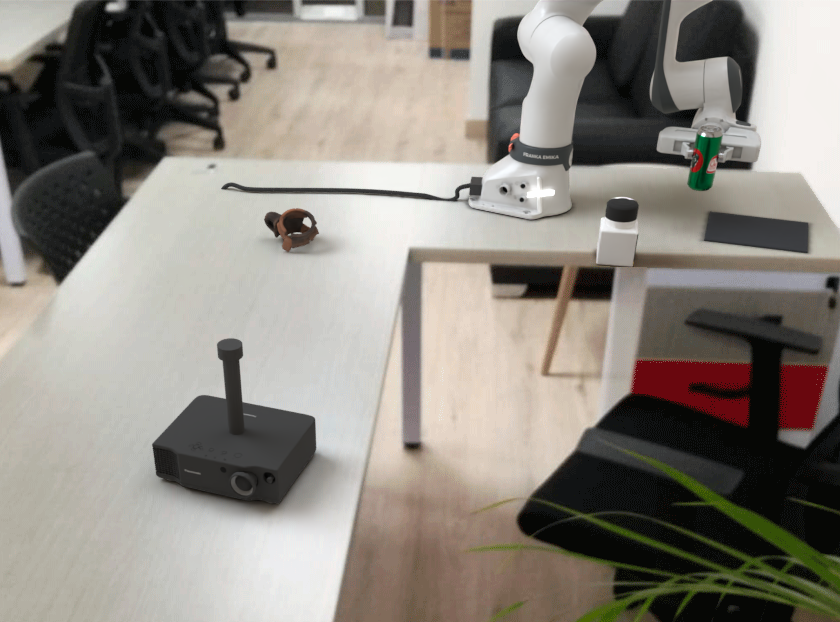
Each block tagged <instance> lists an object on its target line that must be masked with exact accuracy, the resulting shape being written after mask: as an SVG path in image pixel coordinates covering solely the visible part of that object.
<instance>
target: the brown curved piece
mask: <svg viewBox="0 0 840 622" xmlns="http://www.w3.org/2000/svg"><path fill="white" fill-rule="evenodd" d="M307 218H308V219H309V220H310V224H311V226H308V225H307V224H305V223H304V219H307ZM263 221H264V224H265V226H266V227H267V228H268V229H269V230H270V231H271V232H272V233H273V235H274V238H278V237H281V239H283V241H282V245H281V248H282V250H284V251H286V252H287V253H289V252H290V251H291V250H292V249H296V248H297V249H298V248H300V247H303V246H306V245H309V244H310V243H311V242H312V241H313V240H314V239H315V238H316V236H317V235H320V231H319V229H318V226H316V225H317V224H318V221H316V219H315V216H314V215H313V214H312V213H311V212H309V211H308V210H305V209H303V208H299V207H298V208H293V207H292V208H290V209H287V210H285V211H283V212H282V214H280V213H279V212H276V211H269V212H267V213H265V215H264V218H263ZM289 235H290V236H289ZM310 241H311V242H310Z"/></svg>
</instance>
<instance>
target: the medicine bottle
mask: <svg viewBox="0 0 840 622" xmlns="http://www.w3.org/2000/svg"><path fill="white" fill-rule="evenodd" d="M639 207H640V203H639V202H638V200H635V199H633V198H631V197H627V196H616V197H612V198H610V199H609V200H608V201H607V202H606V206H605V215H604V217H603V216H602V217H601V218H600V222H599V230H598V237H597V243H596V256H595V257H596V260H595V262H596V265H598V266H599V265H600V266H615V267H628V268H633V267H634V264H635V259H636V251H637V246H638V240H639V220H638V214H639Z"/></svg>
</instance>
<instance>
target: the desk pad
mask: <svg viewBox="0 0 840 622" xmlns="http://www.w3.org/2000/svg"><path fill="white" fill-rule="evenodd" d="M703 241H705V242H713V243H722V244H730V245H737V246H745V247H755V248H763V249H769V250H770V249H771V250H777V251H778V250H779V251H786V252H795V253H804V254H808V251H809V250H808V249H809V222H805V221H796V220H789V219H779V218H771V217H763V216H752V215H745V214H738V213H737V214H735V213H727V212H718V211H709V216H708V220H707V225H706V229H705V234H704V238H703Z"/></svg>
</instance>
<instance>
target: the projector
mask: <svg viewBox="0 0 840 622" xmlns="http://www.w3.org/2000/svg"><path fill="white" fill-rule="evenodd" d="M243 348H244V347H243V341H242V340H241V339H238V338H234V337H233V338H232V337H231V338H223V339H220V340H219V341H218V342H217V343H216V351H217V359H219V360H220V361H222V369H223V371H222V372H223V381H224V382H223V383H224V393H225V394H224V395H225V397H219V396H214V395H209V394H208V395H207V394H200V395H197V396H196V397H195V398H194V399H192V401H191V402H190V403H189V404H188V405H187V406H186V407H185V408H184V409H183V410H182V412H180V413H179V415H178V416H177V417H176V418H175V419H174V420H173V421H172V422H171V423H170V424H169V425H168V426H167V427H166V428H165V429H164V431H163V432H162V433H161V434H160V435H159V436H158V437H157V438H156V439H155V440H154V441H153V442H152V443H151V447H152V453H153V460H154V461H153V462H154V468H155V469H154V470H155V475H156V477H158V478H160V479H165V480H167V481H169V482H176V483H178V484H179V485H181V486H182V487H184V488H189V489H193V490H197V491H201V492H202V491H203V492H207V493H212V494H215V495H220V496H224V497H229V498H233V499H237V500H242V501H248V502H249V501H262V502H266V503H269V504H277V505H278V504H280V503H281V501H283V499H284V497H285V496H286V494H287V493H288V491H289V490H290V489H291V487H292V486H293V484H294V483H295V481H296V480H297V479H298V477H299V476H300V474H301V473H302V472H303V471H304V469H305V468H306V466H307V464H309V462H310V461H311V459H312V458H313V456H314V455H315V453H316V451H317V428H316V424H317V423H316V417H314V416H313V415H310V414H307V413H301V412H295V411H290V410H286V409H281V408H276V407H270V406H265V405H260V404H254V403H249V402H244V401H243V391H242V390H243V389H242V377H241V363H240V360H241V359H242V358H243V357H244V349H243Z"/></svg>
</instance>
